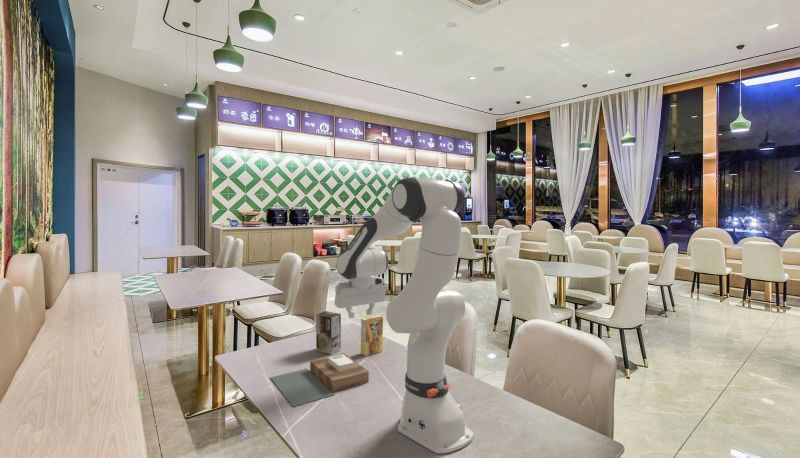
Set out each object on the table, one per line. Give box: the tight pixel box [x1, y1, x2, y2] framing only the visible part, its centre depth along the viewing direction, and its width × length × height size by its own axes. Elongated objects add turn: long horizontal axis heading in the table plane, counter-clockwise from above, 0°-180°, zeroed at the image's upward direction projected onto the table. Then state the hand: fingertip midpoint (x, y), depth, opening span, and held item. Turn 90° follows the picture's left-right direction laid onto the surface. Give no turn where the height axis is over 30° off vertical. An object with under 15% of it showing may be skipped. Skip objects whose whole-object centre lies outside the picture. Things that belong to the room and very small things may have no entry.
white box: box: [328, 354, 354, 371], centre depth 145 cm, size 9×6×2 cm, turn 35°
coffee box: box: [315, 310, 342, 356], centre depth 169 cm, size 9×6×16 cm
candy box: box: [360, 314, 384, 357], centre depth 168 cm, size 9×4×15 cm, turn 129°
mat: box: [269, 368, 335, 408], centre depth 137 cm, size 24×14×1 cm, turn 35°
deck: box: [309, 352, 370, 393], centre depth 145 cm, size 20×14×4 cm
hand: (360, 316), depth 149 cm, fingers open, 6 cm apart
